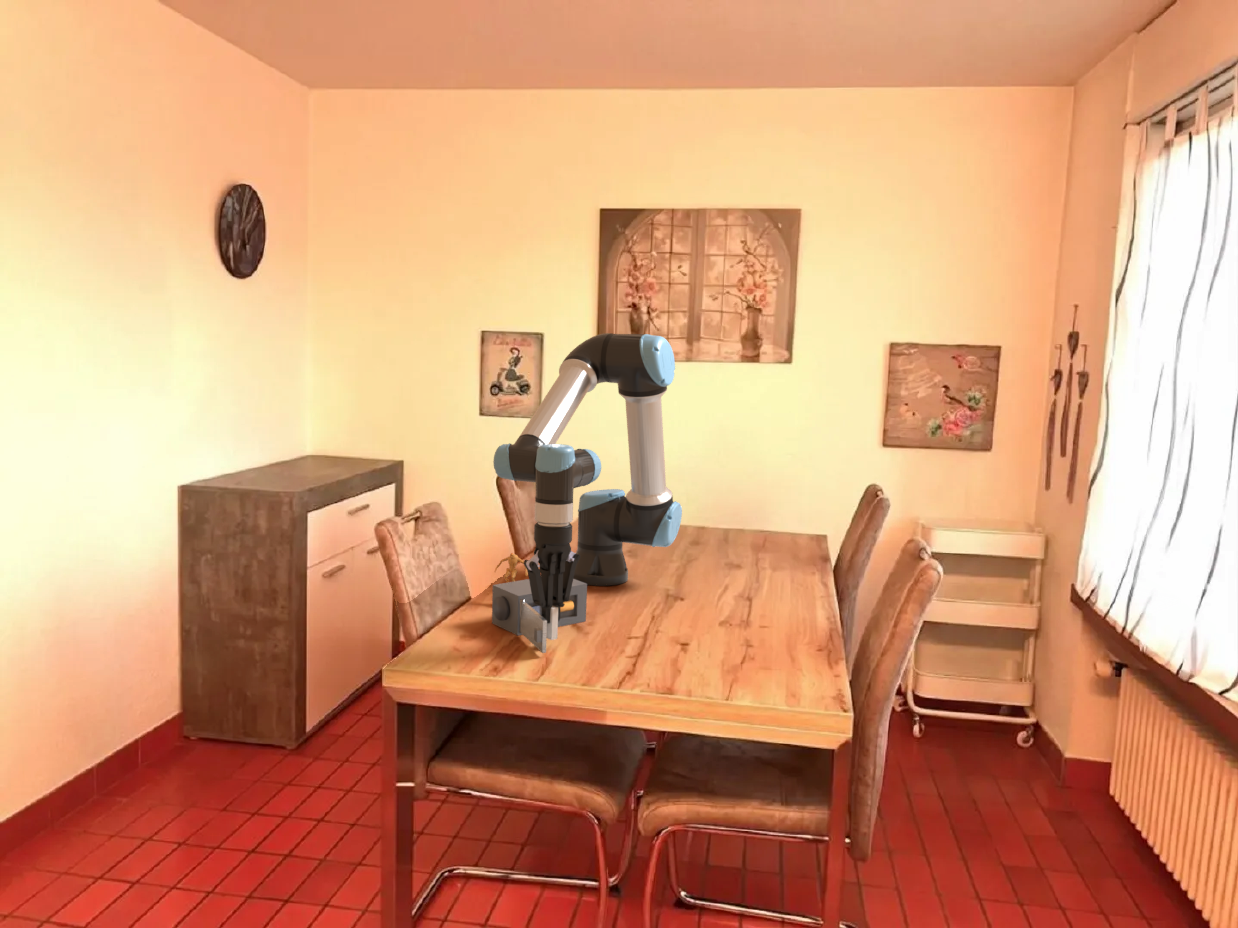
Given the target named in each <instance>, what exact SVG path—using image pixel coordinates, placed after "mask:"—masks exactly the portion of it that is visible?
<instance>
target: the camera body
mask: <svg viewBox="0 0 1238 928" xmlns="http://www.w3.org/2000/svg"><path fill="white" fill-rule="evenodd" d="M587 596H588V585H587V584H586V583H584V582H581V581H578V580H575V579H573V583H572V587H571V592H570V597H569V600H568V601H567V602H566V601H565V602H563V603H564V604H565V605H564V606H563V607H561V608H560V620H559V621H558V628H560V626H561V627H564V626H568V625H569V626H570V625H574V624H579V623H584V622H587V621H586V620H587V599H588V597H587ZM491 597H492V599H491V601H492V602H491V603H492V604H491V605H492V606H491V609H492V610H491V611H492V612H491V624H493V625H495V626H498V627H499V628H501V629H503V630H505V631H507V632H509V633H511V632H512V633H511V634H513V635H516V636H522V635H523V634H520V633H519V622H520V599H525V602H526V603H527V604H528V605H529V606H531V607H532V608H533V609H534V610H535V611H537V612H538V613H539V614H540V615H541V613H542V608H541V606H538V605H536V604H534V603H533V598H532V593H531V587H530V581H529V578H526V579H521V580H515V581H514V582H512V581H509V582H508V583H507V582H503V583H498V584H493V585H492V596H491Z"/></svg>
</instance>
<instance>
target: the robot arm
mask: <svg viewBox="0 0 1238 928" xmlns="http://www.w3.org/2000/svg"><path fill="white" fill-rule="evenodd" d="M675 369H676V363H675V355H674V351H673V348H672V346H671V344H670V342H668V340H667V339H666V338H665V337H663V336H661V335H652V334H647V333H645V334H644V333H643V334H642V333H641V334H639V333H608V332H606V333H601V334H597V335H594V336H592V337H590V338H589V337H588V339H585V340H584V341H583V342H581V343H580V344H579V345H577V346H576V347H575V348H573V349H572V350H571V351H570V352H569V354H568V355H566V357H565V358H564V359H563V360H562V363H561V364H560V365H559V368H558V374H559V375H558V377H557V378H556V380H555V381H554V382H553V384H552V385H551V387H550V389H549V391H547V394H546V395H545V396H544V398H543V400H542V401H541V402H540V404H539V405H538V407H537V409H536V411H534V414H533V415H532V416H531V418H530V419H529V421H528V423H527V424H526V426H525V427H524V429H523V431H522V432H521V433H520V435H519V436H518V438H517V439H516V441H515V442H514V443H513V444H512V443H503V444H501V445H499V446H498V447H497V448H496V450H495V452H494V455H493V461H492V462H493V468H494V470H495V471H494V472H495V474H496V475H497V477H499V478H501V479H505V480H508V481H509V480H510V481H514V482H525V483H527V482H529V483H535V497H534V498H535V500H534V521H535V524H534V528H533V529H534V533H533V534H534V535H533V539H534V543H535V547H534V551H533V555H532V557H530V558H529V559H524V560H523V561H524V564H523V566H524V565H525V567H526V569H527V572H528V575H527V577H528V579H529V581H530V587H531V593H532V598H533V603H534V604H536V605H538V606H541V608H542V613H541V616H542V617H544V618H545V619H546V620H547V640H550V641H555V640H557V639H558V630H559V629H558V628H559V627H558V621H559V620H560V608H561V607H563V606H564V605H565V604H564V603H563V602H565V601H566V602H567V601H568V600H569V597H570V592H571V587H572V583H573V579H575V580H578V581H581V582H584V583H586V584H587V586H600V587H601V586H605V587H606V586H607V587H609V586H616V585H622V584H624V583H626V582H627V581H628V580H629V570H628V566H627V563H626V558H625V554H624V551H623V543H624V544H625V543H626V544H632V545H641V546H649V547H653V548H656V547H659V548H660V547H661V548H662V547H663V548H668V547H669V546H671V545H672V544H673V543H674V542H675V539H676V538H677V536H678V533H679V530H680V526H681V522H682V516H683V513H682V512H683V509H682V507H683V506H681V503H680V502H679V501H678V502H677V500H676V501H674V499H673V498H674V496H673V492H672V490H671V489H670V488H669V487H667V482H666V481H667V479H666V464H665V463H666V462H665V445H664V443H665V442H664V441H665V440H664V426H663V424H664V423H663V410H662V409H663V408H662V407H663V406H662V396H663V395H664V394H666V392H667V391H668V386H670V385H671V384H672V383H673V381H674V377H675ZM603 383H610V384H617V391H618V394H619V396H620V397H622V398H624V401H625V411H626V412H625V414H626V427H627V428H626V430H627V441H628V442H627V443H628V455H629V456H628V457H629V469H630V471H629V472H630V473H629V474H630V484H631V489H630V490H629V491H628V492H627V493H625V491H624V490H623V489H618V488H611V489H610V488H608V489H597V490H590V491H587V492H584V493H582V494H581V495H580V497H579V500H578V509H577V518H578V519H577V548H576V549H577V550H576V552H574V551H572V546H571V544H570V543H572V540H573V525H572V522H573V520H574V519H573V514H574V512H573V511H574V489H576V488H580V487H586V486H589V485H590V484H591V483H593V482H595V481H596V480H598V478H599V477H600V475H601V473H602V461H601V459H600V456H598V455H597V453H596V452H595V451H594V450H592V449H588V448H577V449H574V447H573V446H571V445H569V444H562V443H561V444H560V443H558V444H557V441H558V440H559V438H560V437H561V435H562V434H563V432H564V431H565V429H566V427H567V426H568V424H569V422H570V421H571V420H572V417H573V416H574V415H575V412H576V411H577V410H578V408H579V406H580V405H581V403H582V401H583V400H584V398H585V396H587V393H591V391H593V390H594V389H595V388H596V386H597V385H598V384H603ZM525 567H524V568H525Z"/></svg>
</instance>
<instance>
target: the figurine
mask: <svg viewBox="0 0 1238 928" xmlns="http://www.w3.org/2000/svg"><path fill="white" fill-rule="evenodd" d="M524 561H525V560H524V559H523V560H522V559H521V558H520V557H519V555H518V554H515V553H513V552H511V553H510V555H509V556H507V557H505V558H503V559H501V560H500V561H499V563H498V564H497V565H496V567H495V570H494V572H496V571H497V569H499V567H500V566H501V564H503V562H504V563H505V562H507V563H508V566H509V567H507V568H506V571H505V574H504V577H503V578H504V580H505V583H508V582H510V579H508V577H509V576H511V582H514V581H516V580H515V578H516V576H517V573H518V568H516V567H517V565H518V562H519V563H520V564H523V566H524V570H525V572H524V575H525V576H524V577H528V571H527V569H526V567H525V565H524Z"/></svg>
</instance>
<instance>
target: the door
mask: <svg viewBox="0 0 1238 928" xmlns="http://www.w3.org/2000/svg"><path fill="white" fill-rule="evenodd" d="M519 633H520V634H522V635H523V637H525V638H526V639H527V640H528V641H529V642H530V643H532V645H533V646H534V647H535V648H536V649H537V650H538V651H540V653H542V654H546V653H547V640H548V638H547V620H546V619H545V618H544V617H542V616H541V615H540V614H539V613H538V612H537V611H535V610H534V609H533V608H532V607H531V606H529V605H528V604H527V603H526V602H525V599H520V622H519Z"/></svg>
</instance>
